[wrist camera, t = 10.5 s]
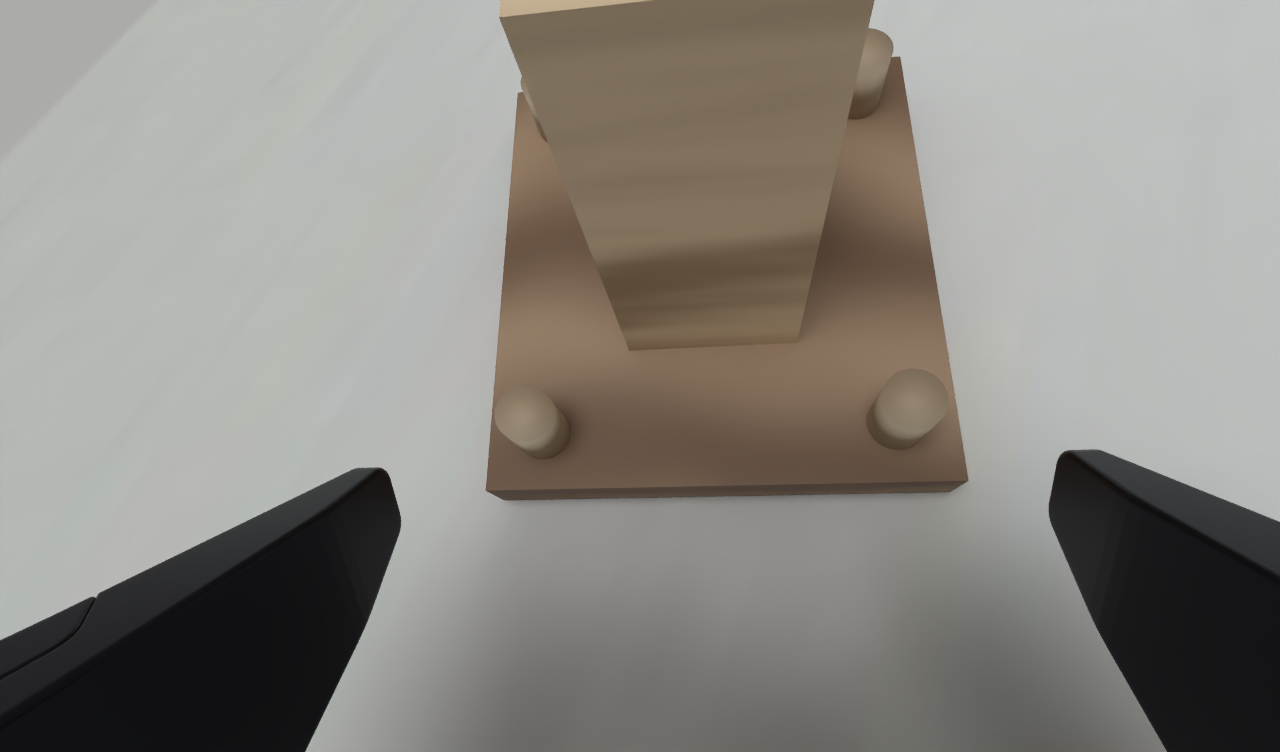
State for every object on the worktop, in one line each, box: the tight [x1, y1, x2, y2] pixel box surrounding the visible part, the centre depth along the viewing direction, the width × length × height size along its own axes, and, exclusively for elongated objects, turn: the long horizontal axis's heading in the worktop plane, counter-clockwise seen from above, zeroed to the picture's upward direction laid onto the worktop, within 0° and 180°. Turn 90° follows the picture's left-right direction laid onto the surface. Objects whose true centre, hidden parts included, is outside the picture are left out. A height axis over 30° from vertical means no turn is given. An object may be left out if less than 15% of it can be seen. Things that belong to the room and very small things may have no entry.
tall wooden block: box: [499, 0, 874, 351], centre depth 14 cm, size 6×4×11 cm
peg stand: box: [486, 28, 968, 500], centre depth 19 cm, size 13×12×4 cm
